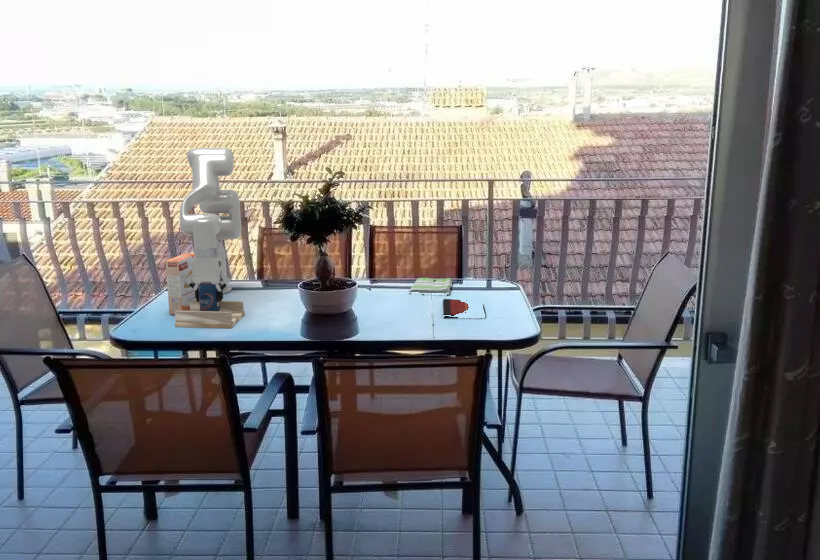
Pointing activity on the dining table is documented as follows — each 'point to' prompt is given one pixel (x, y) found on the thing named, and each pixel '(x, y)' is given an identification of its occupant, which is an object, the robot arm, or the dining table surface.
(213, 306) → the soda can
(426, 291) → the dish towel
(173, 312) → the cracker box
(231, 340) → the dining table surface
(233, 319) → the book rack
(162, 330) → the dining table surface
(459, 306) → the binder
